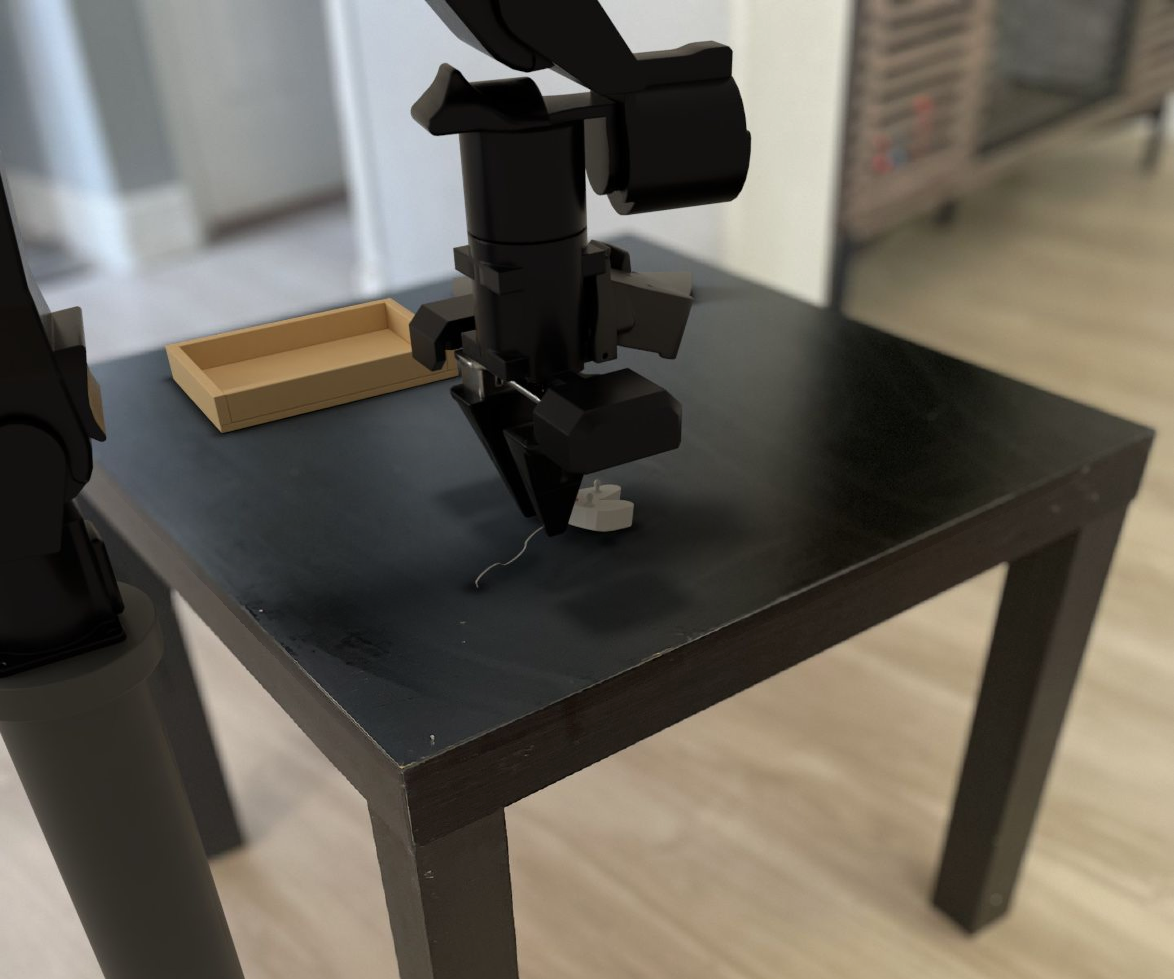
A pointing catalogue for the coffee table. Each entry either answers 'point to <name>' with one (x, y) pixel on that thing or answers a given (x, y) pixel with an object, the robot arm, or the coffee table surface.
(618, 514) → the game controller
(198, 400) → the serving tray
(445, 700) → the coffee table surface
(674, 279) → the gray half cylinder
